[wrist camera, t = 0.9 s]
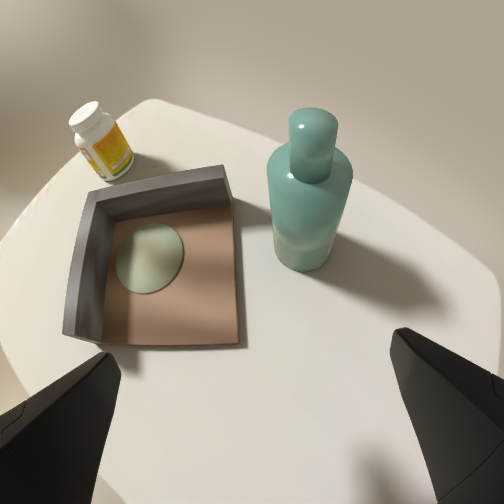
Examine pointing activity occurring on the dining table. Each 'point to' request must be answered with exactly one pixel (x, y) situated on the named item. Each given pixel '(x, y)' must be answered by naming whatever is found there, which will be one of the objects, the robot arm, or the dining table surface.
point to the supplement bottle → (101, 141)
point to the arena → (156, 263)
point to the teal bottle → (307, 190)
